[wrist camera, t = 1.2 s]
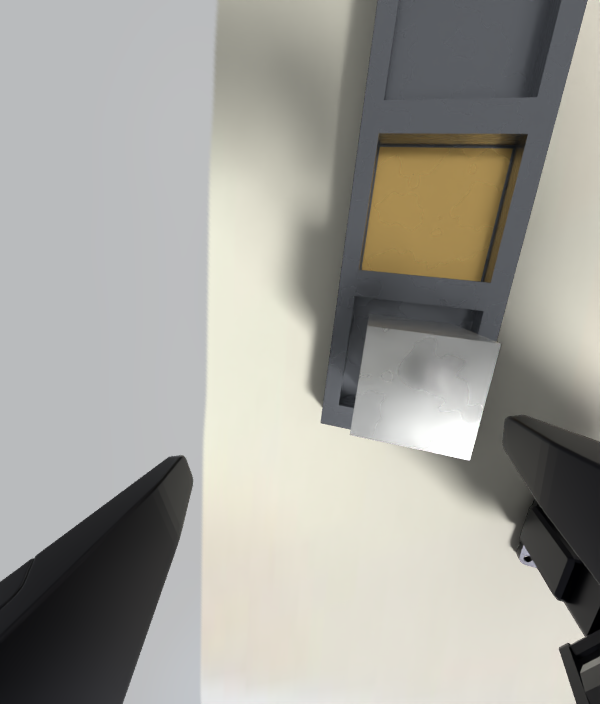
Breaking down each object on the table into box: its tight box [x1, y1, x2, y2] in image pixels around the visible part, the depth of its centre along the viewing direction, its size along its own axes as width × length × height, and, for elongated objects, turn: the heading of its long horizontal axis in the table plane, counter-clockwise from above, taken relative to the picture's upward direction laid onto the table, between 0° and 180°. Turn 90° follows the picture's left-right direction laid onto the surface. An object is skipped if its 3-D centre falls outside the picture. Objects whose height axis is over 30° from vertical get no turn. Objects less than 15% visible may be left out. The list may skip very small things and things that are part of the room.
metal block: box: [350, 313, 501, 460], centre depth 16 cm, size 5×5×7 cm
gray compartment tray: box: [321, 0, 588, 429], centre depth 17 cm, size 9×27×2 cm, turn 174°
